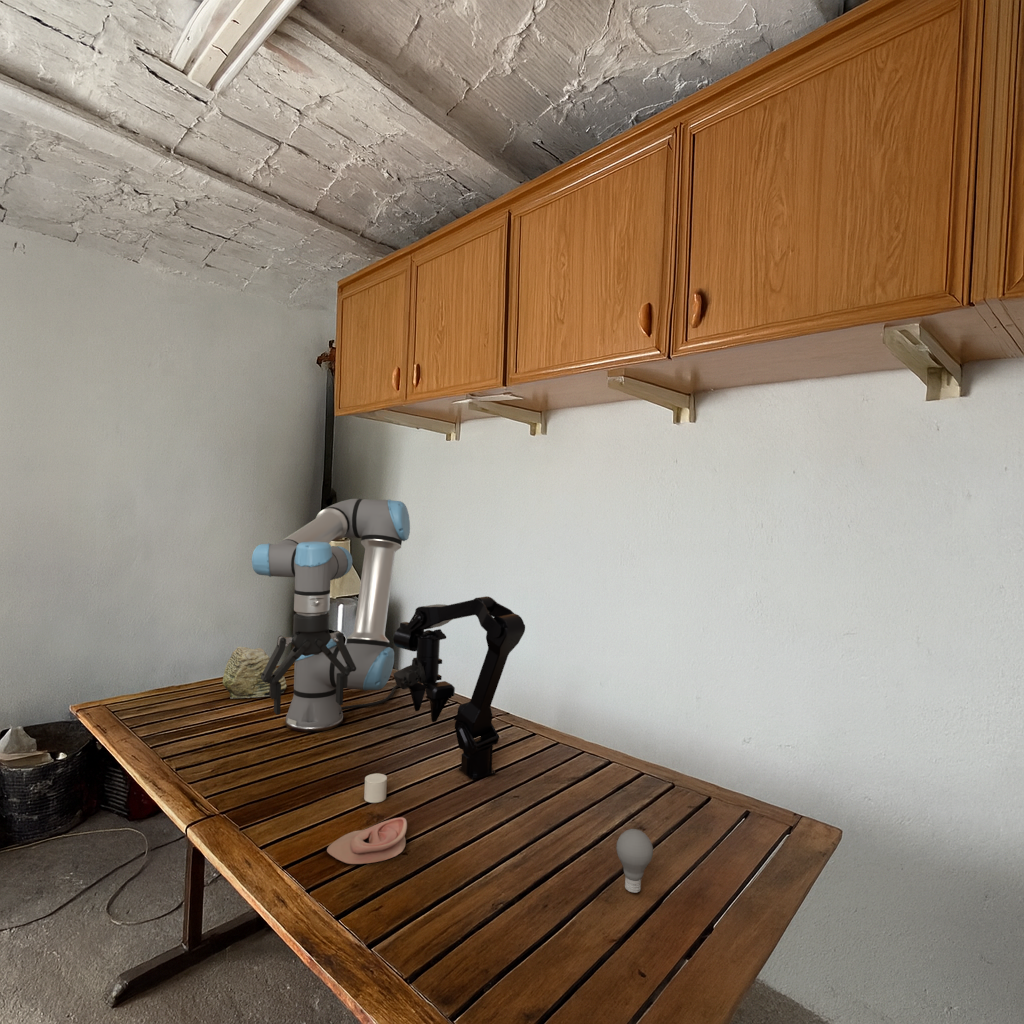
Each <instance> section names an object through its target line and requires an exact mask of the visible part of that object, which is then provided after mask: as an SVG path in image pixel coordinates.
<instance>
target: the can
mask: <svg viewBox="0 0 1024 1024" xmlns="http://www.w3.org/2000/svg"><path fill="white" fill-rule="evenodd" d="M387 786H388V776H387V775H386V774H383V773H376V772H375V773H371V774H368V775H366V776H365V777H364V791H363V793H364V795H363V799H364V801H365V802H367V803H371V804H377V803H381V802H384V801H385V800H386V799H387V788H388V787H387Z"/></svg>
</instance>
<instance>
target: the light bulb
mask: <svg viewBox="0 0 1024 1024" xmlns="http://www.w3.org/2000/svg"><path fill="white" fill-rule="evenodd" d="M615 849H616V854H617V857H618V859H619V861H620V863H621V865H622V867H623V873H624V874H623V875H624V876H625V878H624V888H625V890H627V891H628V892H630V893H634V894H635V893H639V892H640V891H641V889H642V887H641V886H642V879H643V877H644V875H645V871H646V868H647V867H648V866H649V864H650V863H651V861H652V859H653V855H654V847H653V843H652V841H651V838H649V836H648V835H647V834H646V833H645V832H643V831H642V830H641V829H636V828H629V829H627V830H625V831H623V832H622V833H621V834H620V835H619V837H618V839H617V841H616V847H615Z"/></svg>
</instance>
